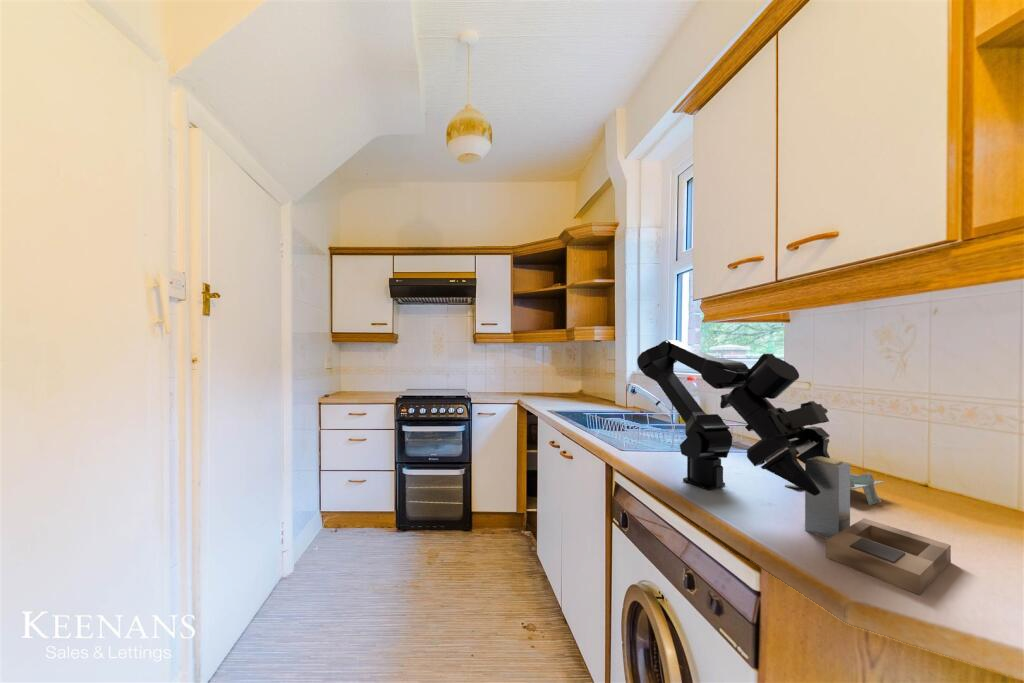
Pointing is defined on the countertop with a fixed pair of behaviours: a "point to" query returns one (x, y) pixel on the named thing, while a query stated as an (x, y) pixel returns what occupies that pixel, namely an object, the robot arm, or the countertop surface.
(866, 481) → the metal bracket
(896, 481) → the countertop surface
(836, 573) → the countertop surface
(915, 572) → the plate with square hole
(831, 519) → the grey tall block
